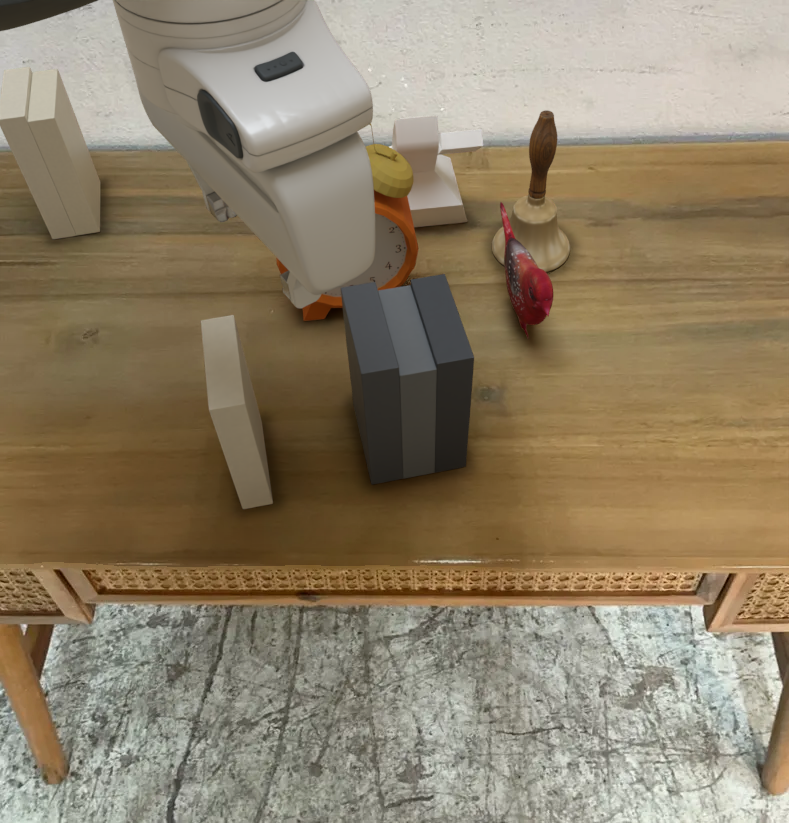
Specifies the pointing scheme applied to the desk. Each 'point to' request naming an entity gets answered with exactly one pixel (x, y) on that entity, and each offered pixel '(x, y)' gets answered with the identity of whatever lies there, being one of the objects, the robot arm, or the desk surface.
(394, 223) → the alarm clock
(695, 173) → the desk surface
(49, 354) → the desk surface
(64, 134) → the white books
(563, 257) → the hand bell
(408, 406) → the grey books
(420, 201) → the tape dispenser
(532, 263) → the decorative bird figurine
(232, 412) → the white book
